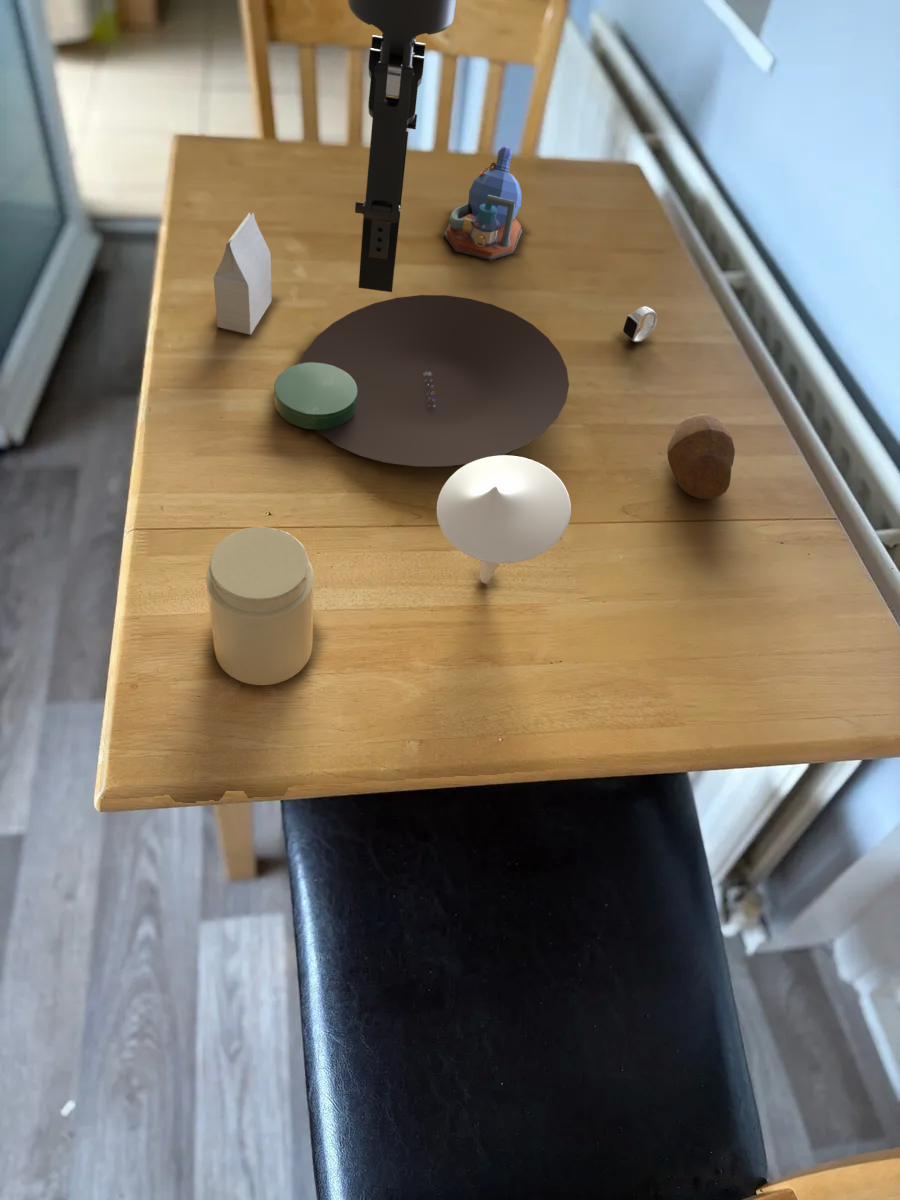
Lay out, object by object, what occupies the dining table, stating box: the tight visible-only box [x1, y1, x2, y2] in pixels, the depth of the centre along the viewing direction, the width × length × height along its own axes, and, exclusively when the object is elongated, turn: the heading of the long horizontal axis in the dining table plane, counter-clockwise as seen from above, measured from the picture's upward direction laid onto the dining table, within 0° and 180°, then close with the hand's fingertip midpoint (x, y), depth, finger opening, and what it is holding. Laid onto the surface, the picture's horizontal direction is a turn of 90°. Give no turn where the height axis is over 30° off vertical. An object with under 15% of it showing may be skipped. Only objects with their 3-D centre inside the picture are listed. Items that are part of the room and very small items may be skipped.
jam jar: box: [205, 526, 315, 686], centre depth 68 cm, size 8×8×10 cm
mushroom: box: [436, 455, 572, 584], centre depth 74 cm, size 10×11×12 cm
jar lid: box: [273, 363, 357, 431], centre depth 90 cm, size 8×8×2 cm
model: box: [443, 145, 524, 261], centre depth 113 cm, size 12×9×9 cm
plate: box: [298, 294, 570, 467], centre depth 93 cm, size 28×28×4 cm
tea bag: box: [213, 212, 273, 336], centre depth 95 cm, size 4×7×10 cm, turn 168°
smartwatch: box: [622, 306, 658, 343], centre depth 104 cm, size 4×2×4 cm, turn 121°
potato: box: [666, 413, 736, 500], centre depth 89 cm, size 7×10×6 cm
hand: (380, 244), depth 77 cm, fingers open, 13 cm apart
